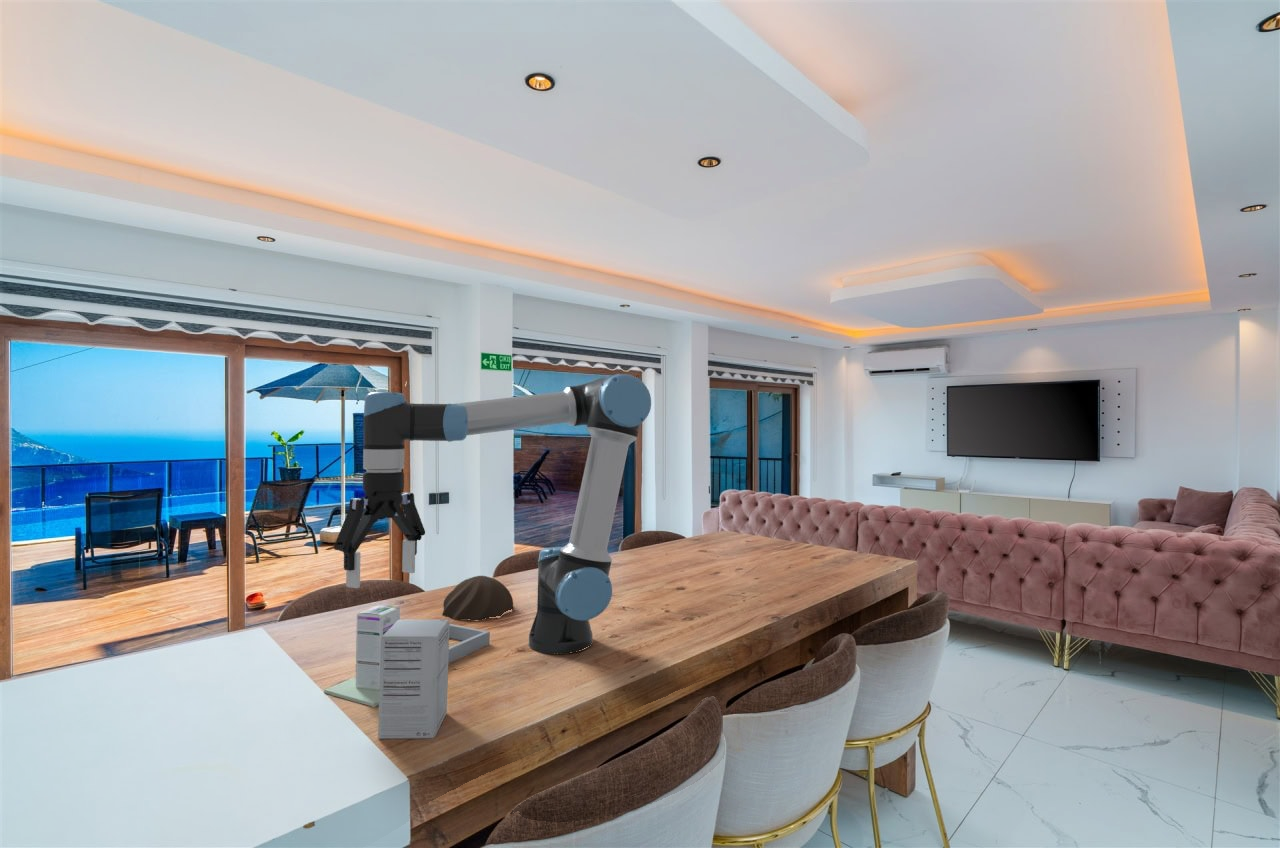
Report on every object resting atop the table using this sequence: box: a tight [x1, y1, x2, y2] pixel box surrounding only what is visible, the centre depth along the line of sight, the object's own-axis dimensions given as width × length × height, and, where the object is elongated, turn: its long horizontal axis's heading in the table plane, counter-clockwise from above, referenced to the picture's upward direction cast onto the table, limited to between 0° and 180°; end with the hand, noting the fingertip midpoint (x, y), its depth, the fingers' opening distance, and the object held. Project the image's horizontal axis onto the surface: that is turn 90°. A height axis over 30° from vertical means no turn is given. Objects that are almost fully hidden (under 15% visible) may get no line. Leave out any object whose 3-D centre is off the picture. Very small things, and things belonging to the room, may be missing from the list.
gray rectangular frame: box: [448, 623, 491, 664], centre depth 139 cm, size 15×23×3 cm, turn 155°
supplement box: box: [377, 618, 451, 740], centre depth 105 cm, size 10×9×17 cm
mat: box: [323, 676, 379, 708], centre depth 120 cm, size 13×13×1 cm
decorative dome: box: [442, 575, 514, 621], centre depth 173 cm, size 19×20×10 cm
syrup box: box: [355, 605, 401, 691], centre depth 120 cm, size 6×6×14 cm
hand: (382, 579), depth 121 cm, fingers open, 13 cm apart
